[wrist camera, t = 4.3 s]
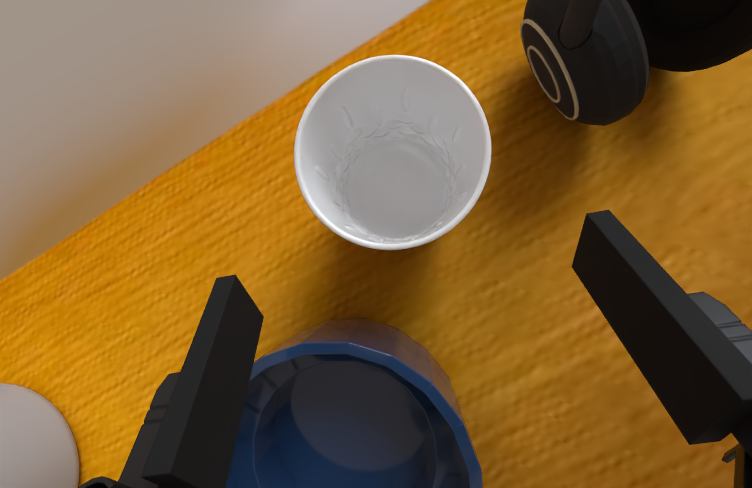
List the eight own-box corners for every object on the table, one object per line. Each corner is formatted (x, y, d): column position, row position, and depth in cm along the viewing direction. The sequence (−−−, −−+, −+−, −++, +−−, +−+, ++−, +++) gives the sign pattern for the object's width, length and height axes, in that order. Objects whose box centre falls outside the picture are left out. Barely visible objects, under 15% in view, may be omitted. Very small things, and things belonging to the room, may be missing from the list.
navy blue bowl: (503, 399, 23) (545, 461, 16) (382, 578, 23) (371, 718, 16) (324, 277, 24) (291, 284, 17) (212, 447, 24) (134, 523, 17)
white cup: (477, 218, 23) (529, 188, 13) (373, 274, 24) (349, 285, 14) (421, 118, 24) (430, 17, 14) (320, 173, 24) (261, 115, 14)
